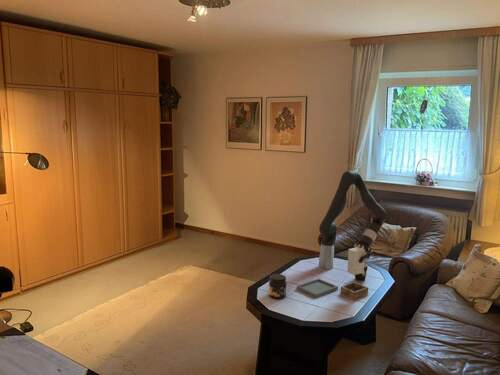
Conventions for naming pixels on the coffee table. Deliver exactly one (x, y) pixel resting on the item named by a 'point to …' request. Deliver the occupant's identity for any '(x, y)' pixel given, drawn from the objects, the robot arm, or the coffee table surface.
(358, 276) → the coffee mug
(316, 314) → the coffee table surface
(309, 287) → the tray
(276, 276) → the supplement container
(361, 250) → the skincare box
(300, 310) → the coffee table surface
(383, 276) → the coffee table surface
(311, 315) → the coffee table surface
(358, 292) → the holder
